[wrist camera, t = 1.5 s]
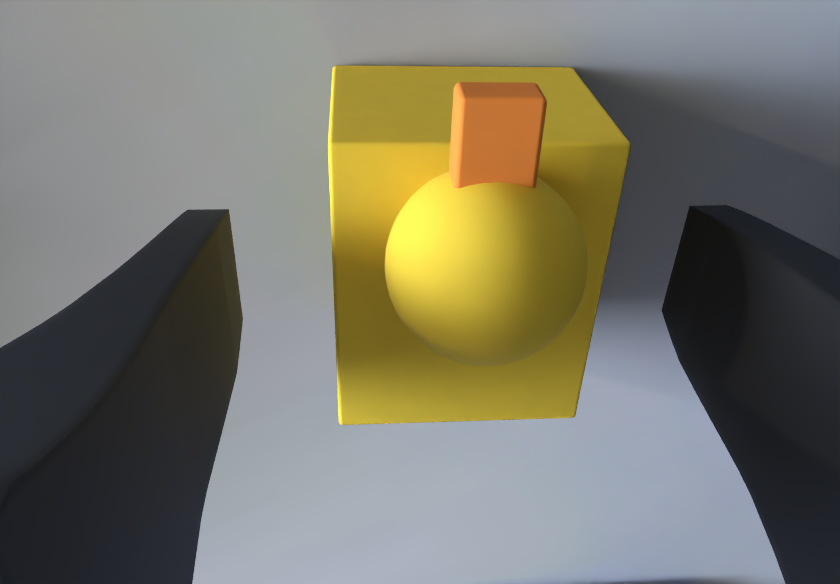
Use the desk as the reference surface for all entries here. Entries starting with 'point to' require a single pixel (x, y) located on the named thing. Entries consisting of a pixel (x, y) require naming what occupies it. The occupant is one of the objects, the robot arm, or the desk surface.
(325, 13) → the desk surface
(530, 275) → the rubber duck
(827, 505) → the robot arm
